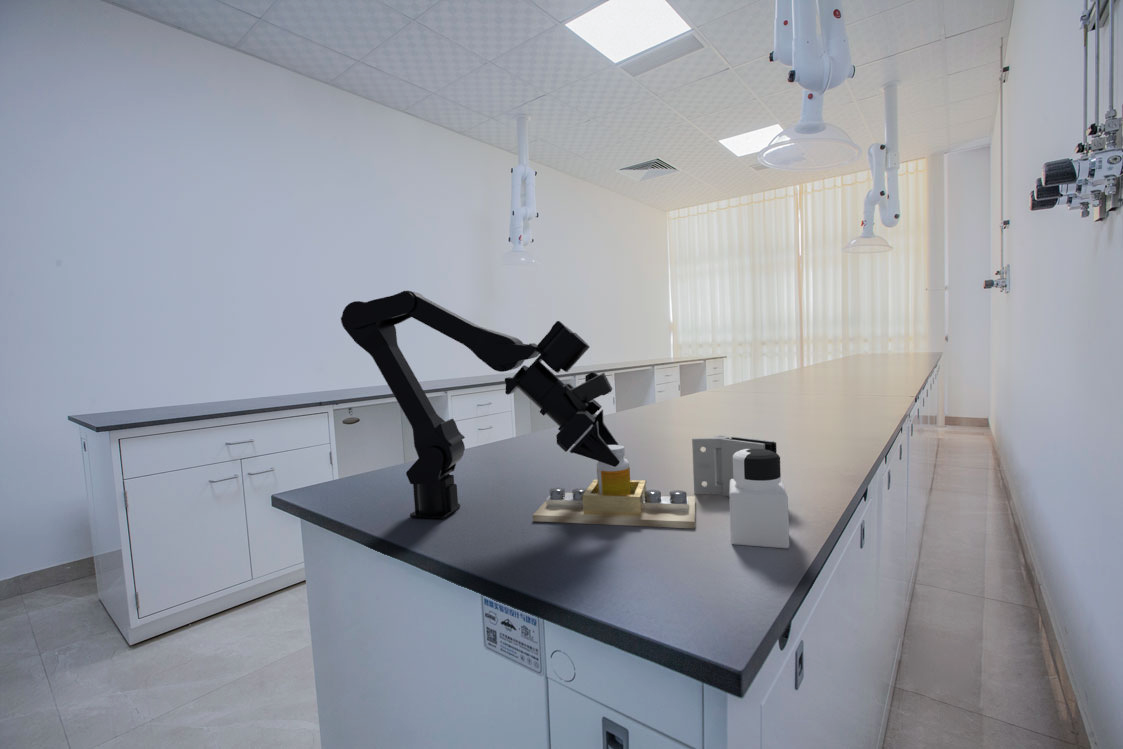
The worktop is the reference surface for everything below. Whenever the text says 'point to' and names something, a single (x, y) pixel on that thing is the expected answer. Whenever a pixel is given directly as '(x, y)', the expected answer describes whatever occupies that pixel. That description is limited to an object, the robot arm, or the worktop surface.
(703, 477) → the hinge
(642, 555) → the worktop surface
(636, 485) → the bottle holder fixture
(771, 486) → the medicine bottle
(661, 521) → the board
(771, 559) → the worktop surface
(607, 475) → the supplement bottle
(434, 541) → the worktop surface
